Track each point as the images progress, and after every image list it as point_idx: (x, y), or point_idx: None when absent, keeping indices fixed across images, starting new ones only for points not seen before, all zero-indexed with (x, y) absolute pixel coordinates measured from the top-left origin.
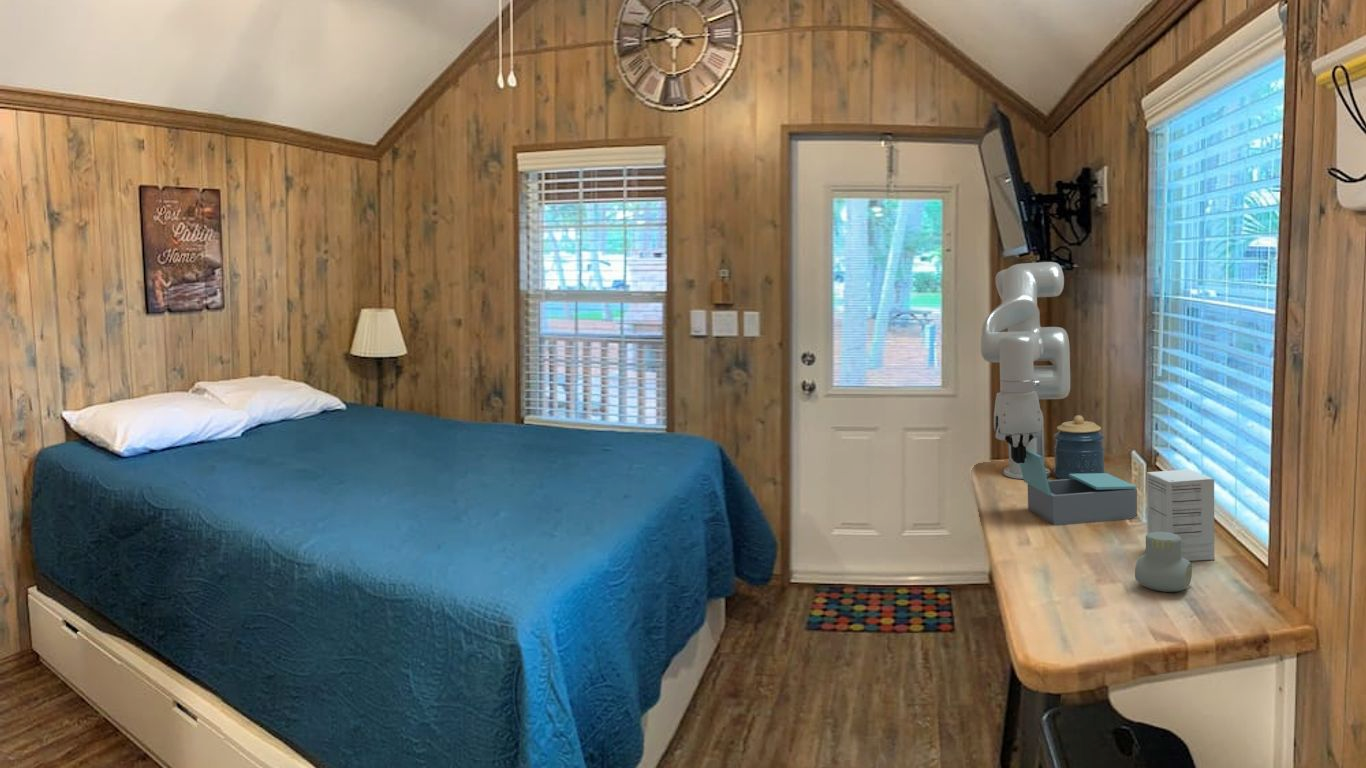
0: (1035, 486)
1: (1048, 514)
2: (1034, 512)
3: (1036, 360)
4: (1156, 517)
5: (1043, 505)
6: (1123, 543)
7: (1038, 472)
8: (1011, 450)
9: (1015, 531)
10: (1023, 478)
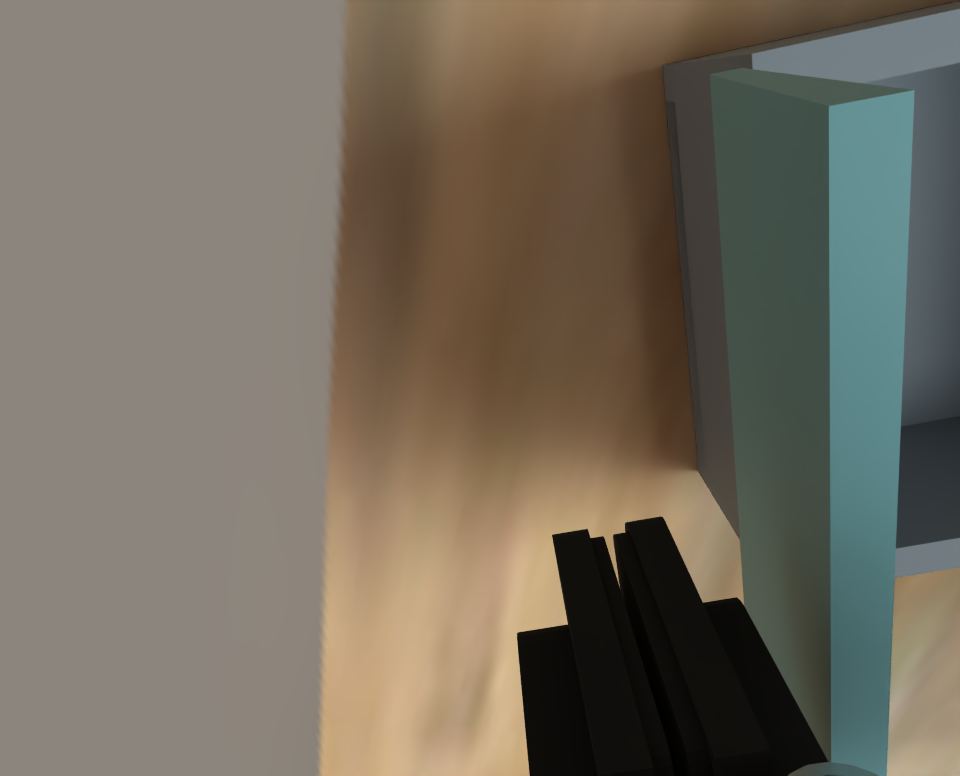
0: (732, 383)
1: (709, 433)
2: (675, 190)
3: None
4: None
5: (719, 379)
6: (901, 739)
7: None
8: (530, 751)
9: (447, 561)
10: (714, 78)
